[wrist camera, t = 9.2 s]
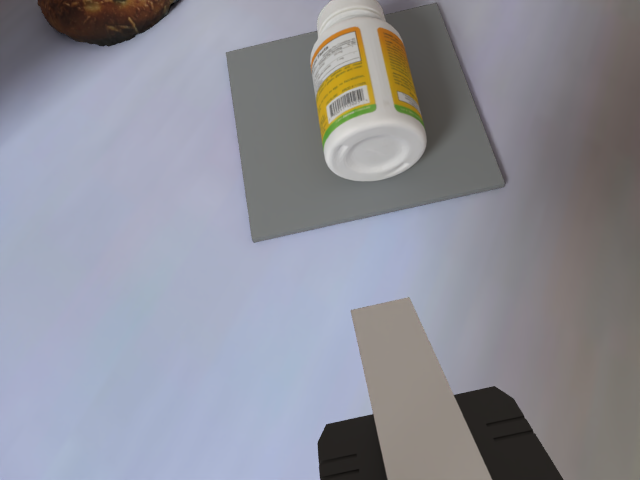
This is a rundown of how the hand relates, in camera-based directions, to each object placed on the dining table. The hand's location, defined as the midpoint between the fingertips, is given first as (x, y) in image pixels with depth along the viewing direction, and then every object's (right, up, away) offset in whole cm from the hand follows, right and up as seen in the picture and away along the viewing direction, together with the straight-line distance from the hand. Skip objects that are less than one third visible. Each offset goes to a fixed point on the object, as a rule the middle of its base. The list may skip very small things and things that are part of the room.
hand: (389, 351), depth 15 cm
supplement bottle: (+1, +7, +15) cm, 17 cm away
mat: (0, +10, +21) cm, 23 cm away
